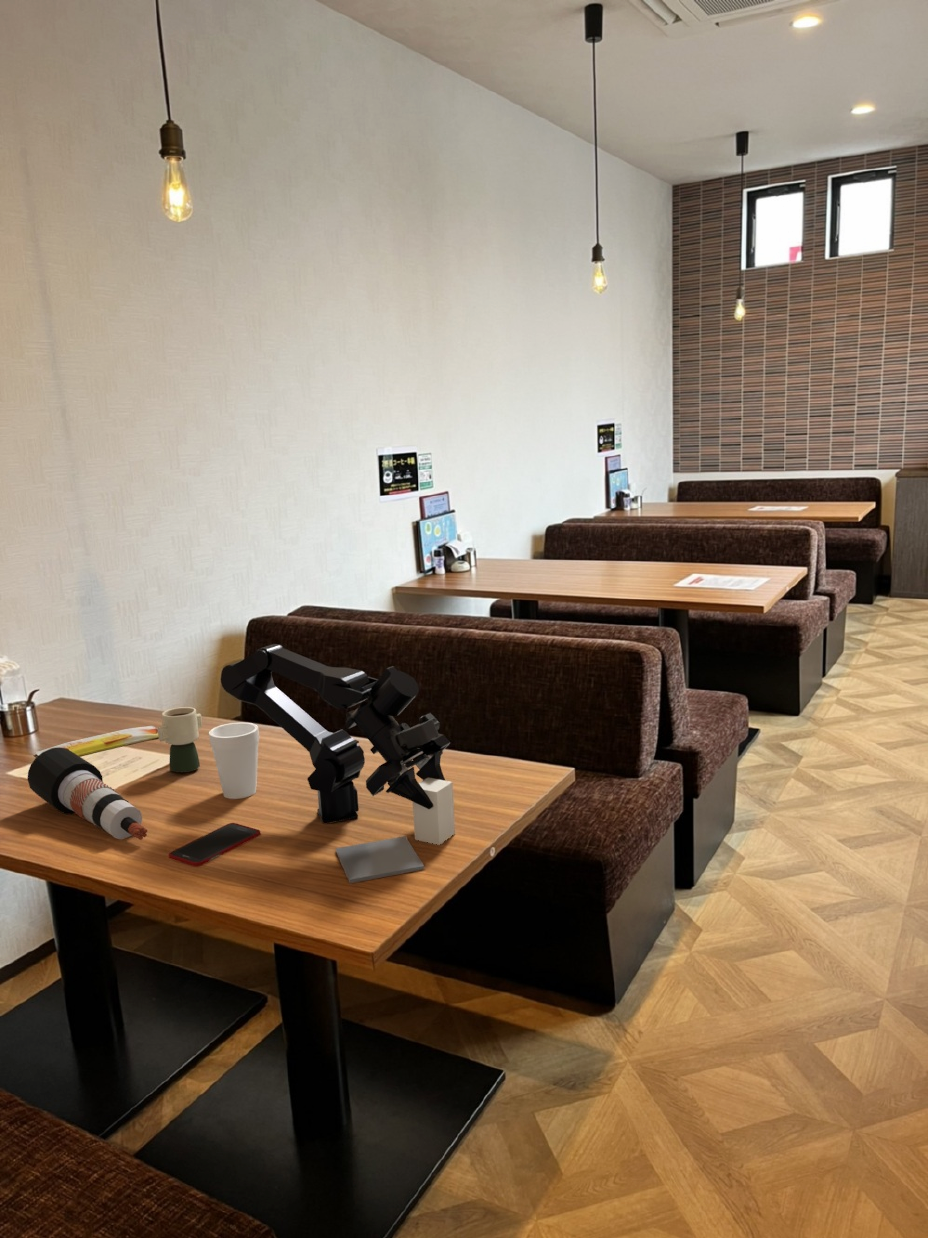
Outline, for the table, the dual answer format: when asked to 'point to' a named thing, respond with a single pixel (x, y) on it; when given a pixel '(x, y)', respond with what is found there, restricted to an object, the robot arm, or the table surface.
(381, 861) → the slate coaster
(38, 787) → the cable
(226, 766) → the foam cup
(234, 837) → the cell phone
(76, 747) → the food package
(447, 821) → the cream block
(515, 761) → the table surface
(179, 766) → the character mug
